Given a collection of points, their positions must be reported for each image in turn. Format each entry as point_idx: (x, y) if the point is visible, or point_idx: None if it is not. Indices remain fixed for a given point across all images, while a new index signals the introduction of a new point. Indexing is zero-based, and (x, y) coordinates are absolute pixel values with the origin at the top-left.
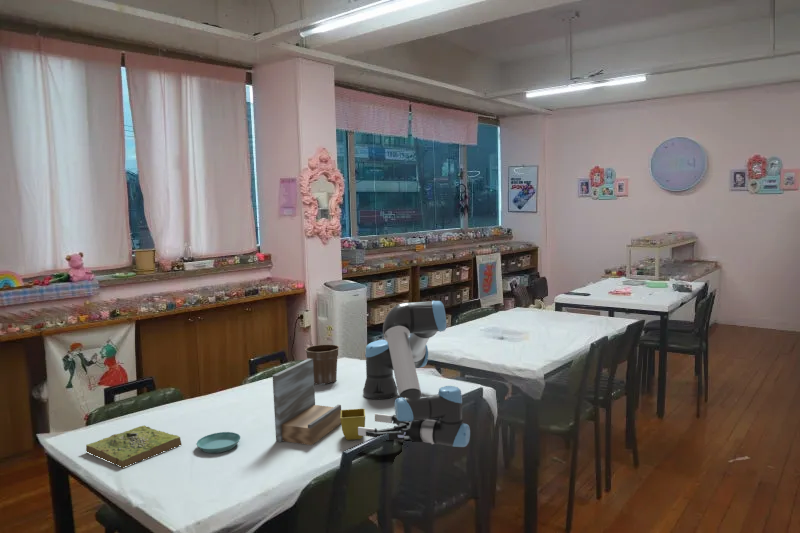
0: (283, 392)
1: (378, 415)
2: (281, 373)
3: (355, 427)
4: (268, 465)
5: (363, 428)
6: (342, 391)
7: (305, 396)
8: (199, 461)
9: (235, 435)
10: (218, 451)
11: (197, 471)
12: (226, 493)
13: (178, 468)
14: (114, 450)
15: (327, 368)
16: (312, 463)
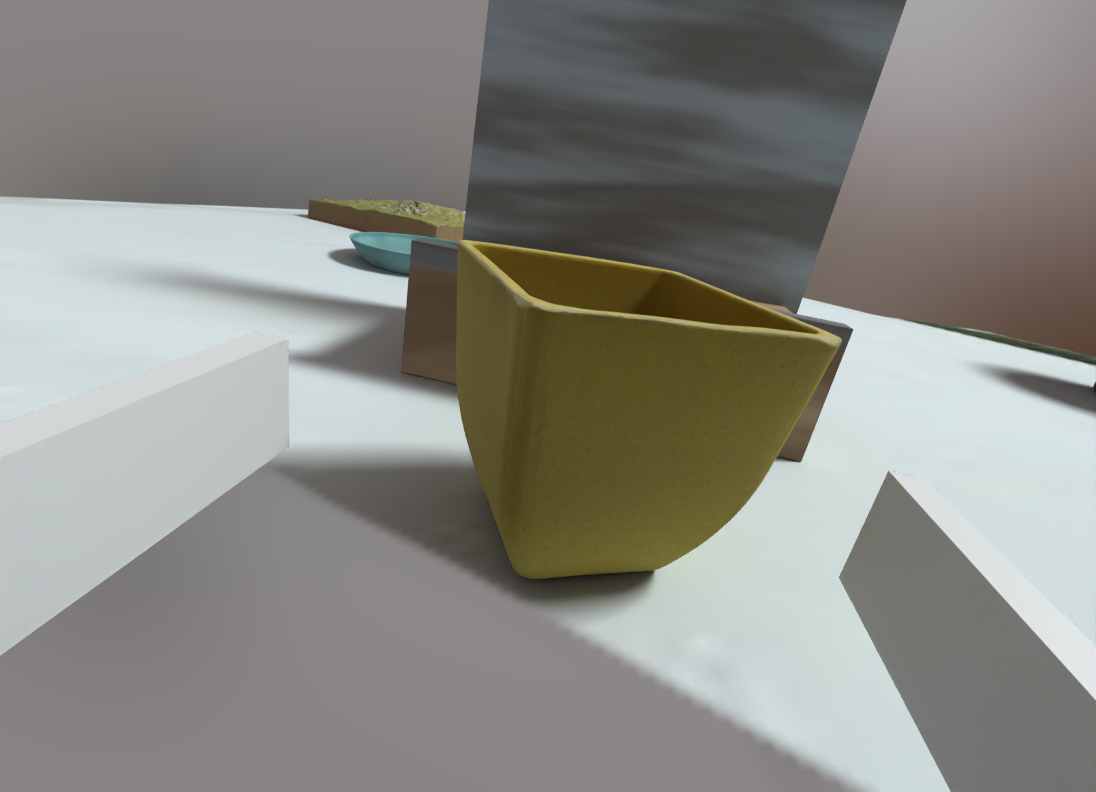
0: (529, 76)
1: (917, 528)
2: None
3: (481, 405)
4: (170, 291)
5: (182, 362)
6: None
7: (723, 213)
8: (307, 246)
9: None
10: (361, 254)
11: (223, 238)
12: None
13: (268, 233)
14: (370, 203)
15: None
16: (57, 366)
